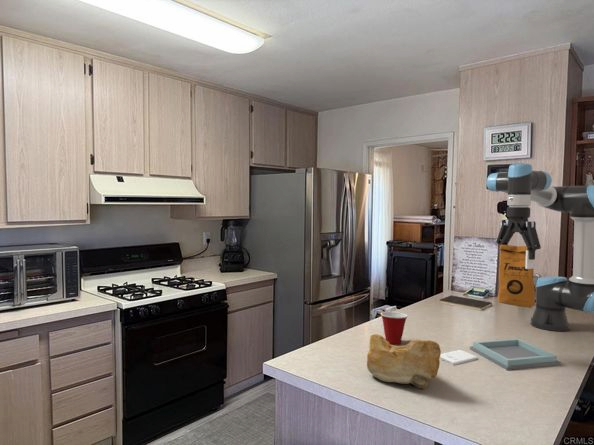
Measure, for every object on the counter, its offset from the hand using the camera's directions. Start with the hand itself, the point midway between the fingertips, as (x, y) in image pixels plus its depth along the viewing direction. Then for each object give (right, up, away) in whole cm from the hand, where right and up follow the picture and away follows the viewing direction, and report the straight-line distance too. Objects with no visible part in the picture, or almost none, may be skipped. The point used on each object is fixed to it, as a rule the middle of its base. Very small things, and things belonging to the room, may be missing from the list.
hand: (516, 265), depth 150 cm
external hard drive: (-22, -35, 0) cm, 41 cm away
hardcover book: (+14, -31, +79) cm, 86 cm away
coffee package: (0, -15, 0) cm, 15 cm away
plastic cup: (-41, -33, +16) cm, 55 cm away
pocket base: (0, -34, +2) cm, 34 cm away
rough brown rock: (-45, -35, -18) cm, 60 cm away
